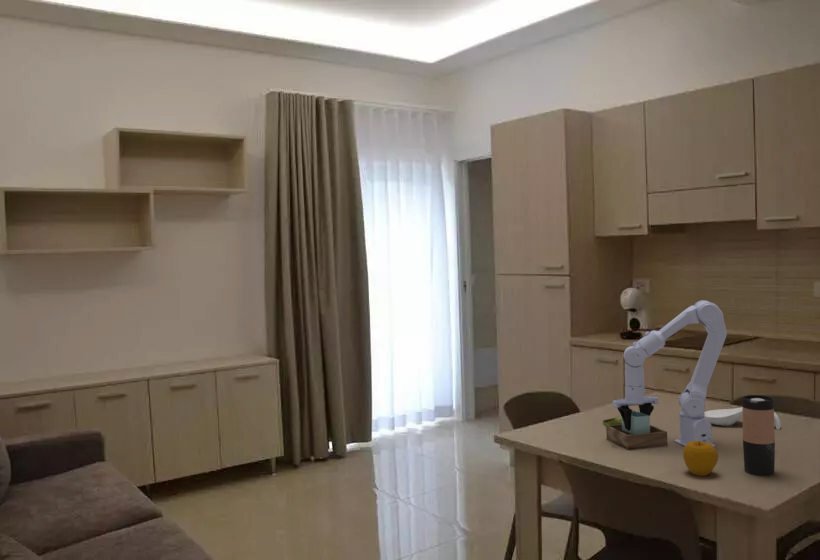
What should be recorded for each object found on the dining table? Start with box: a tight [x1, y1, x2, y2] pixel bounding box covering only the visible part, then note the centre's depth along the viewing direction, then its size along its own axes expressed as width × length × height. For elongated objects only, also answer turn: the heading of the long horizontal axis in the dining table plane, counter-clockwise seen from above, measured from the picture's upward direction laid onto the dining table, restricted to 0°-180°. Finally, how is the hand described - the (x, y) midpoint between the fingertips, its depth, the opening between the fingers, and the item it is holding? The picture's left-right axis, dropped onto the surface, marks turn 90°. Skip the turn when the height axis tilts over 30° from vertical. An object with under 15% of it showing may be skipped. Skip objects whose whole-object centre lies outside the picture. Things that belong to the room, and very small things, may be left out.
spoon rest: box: [704, 407, 782, 431], centre depth 234 cm, size 24×12×7 cm, turn 60°
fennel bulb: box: [602, 409, 636, 426], centre depth 240 cm, size 6×5×12 cm
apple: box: [682, 441, 719, 477], centre depth 187 cm, size 9×8×9 cm
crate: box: [605, 424, 668, 451], centre depth 219 cm, size 13×13×4 cm
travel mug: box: [741, 394, 776, 477], centre depth 186 cm, size 8×8×20 cm
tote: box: [622, 410, 651, 435], centre depth 219 cm, size 5×8×6 cm, turn 13°
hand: (636, 428), depth 219 cm, fingers closed on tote, 5 cm apart
